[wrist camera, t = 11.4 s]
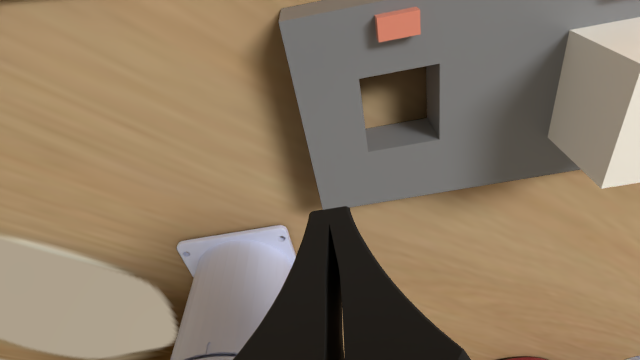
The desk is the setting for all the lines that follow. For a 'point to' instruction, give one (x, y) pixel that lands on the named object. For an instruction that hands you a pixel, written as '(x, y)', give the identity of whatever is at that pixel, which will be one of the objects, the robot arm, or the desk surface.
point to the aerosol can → (634, 358)
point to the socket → (433, 90)
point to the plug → (601, 102)
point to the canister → (526, 358)
